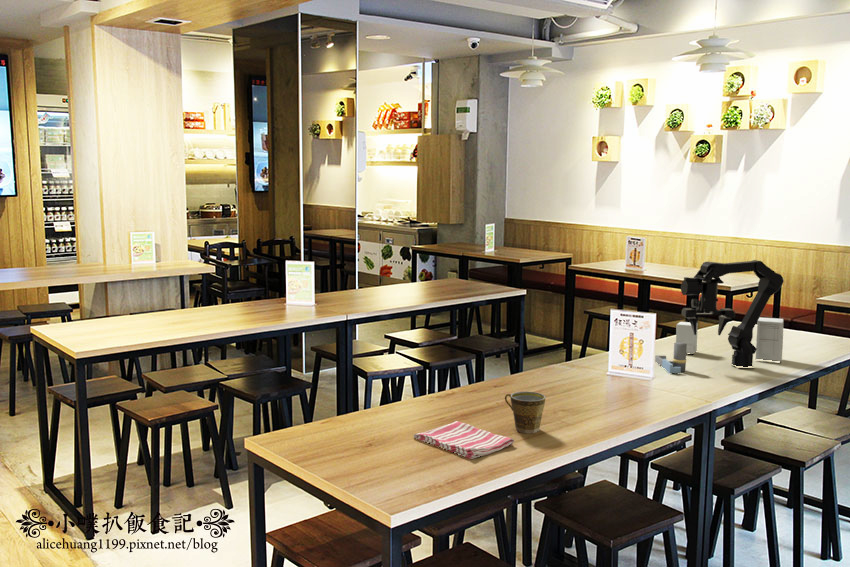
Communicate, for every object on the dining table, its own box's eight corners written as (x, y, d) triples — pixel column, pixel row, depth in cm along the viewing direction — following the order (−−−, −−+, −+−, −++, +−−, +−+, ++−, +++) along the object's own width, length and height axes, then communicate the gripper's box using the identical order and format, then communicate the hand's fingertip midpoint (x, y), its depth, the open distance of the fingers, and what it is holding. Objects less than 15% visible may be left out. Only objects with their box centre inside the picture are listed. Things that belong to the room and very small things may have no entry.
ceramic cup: (551, 429, 220) (552, 395, 218) (531, 437, 212) (532, 403, 211) (514, 420, 228) (515, 387, 227) (494, 427, 221) (495, 394, 219)
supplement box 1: (697, 352, 321) (698, 322, 320) (693, 355, 315) (694, 325, 313) (679, 350, 325) (680, 321, 324) (674, 353, 319) (676, 323, 317)
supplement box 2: (782, 359, 308) (784, 318, 306) (780, 364, 300) (783, 322, 298) (756, 357, 313) (759, 316, 311) (754, 361, 305) (757, 320, 302)
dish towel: (471, 463, 195) (472, 450, 194) (412, 440, 212) (412, 428, 211) (515, 447, 206) (516, 435, 205) (455, 427, 223) (455, 415, 223)
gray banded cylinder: (683, 369, 292) (684, 342, 290) (687, 372, 287) (688, 345, 286) (671, 369, 292) (672, 342, 290) (674, 372, 287) (676, 344, 286)
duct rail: (665, 361, 304) (665, 353, 303) (680, 374, 284) (680, 364, 284) (655, 361, 304) (655, 352, 304) (669, 373, 284) (670, 364, 284)
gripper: (726, 292, 297) (723, 331, 300) (678, 291, 298) (676, 330, 300) (736, 296, 286) (734, 336, 288) (687, 295, 287) (685, 336, 289)
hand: (707, 335), depth 292 cm, fingers open, 9 cm apart
